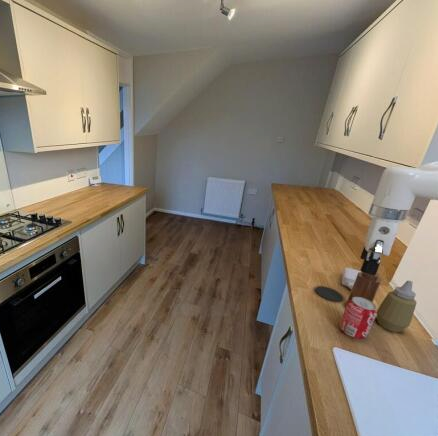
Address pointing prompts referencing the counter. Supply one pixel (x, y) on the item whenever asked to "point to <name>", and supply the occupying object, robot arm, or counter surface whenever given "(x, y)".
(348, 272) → the charger
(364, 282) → the stoneware bottle
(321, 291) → the coaster
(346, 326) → the soda can
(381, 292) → the counter surface
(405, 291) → the squeeze bottle
